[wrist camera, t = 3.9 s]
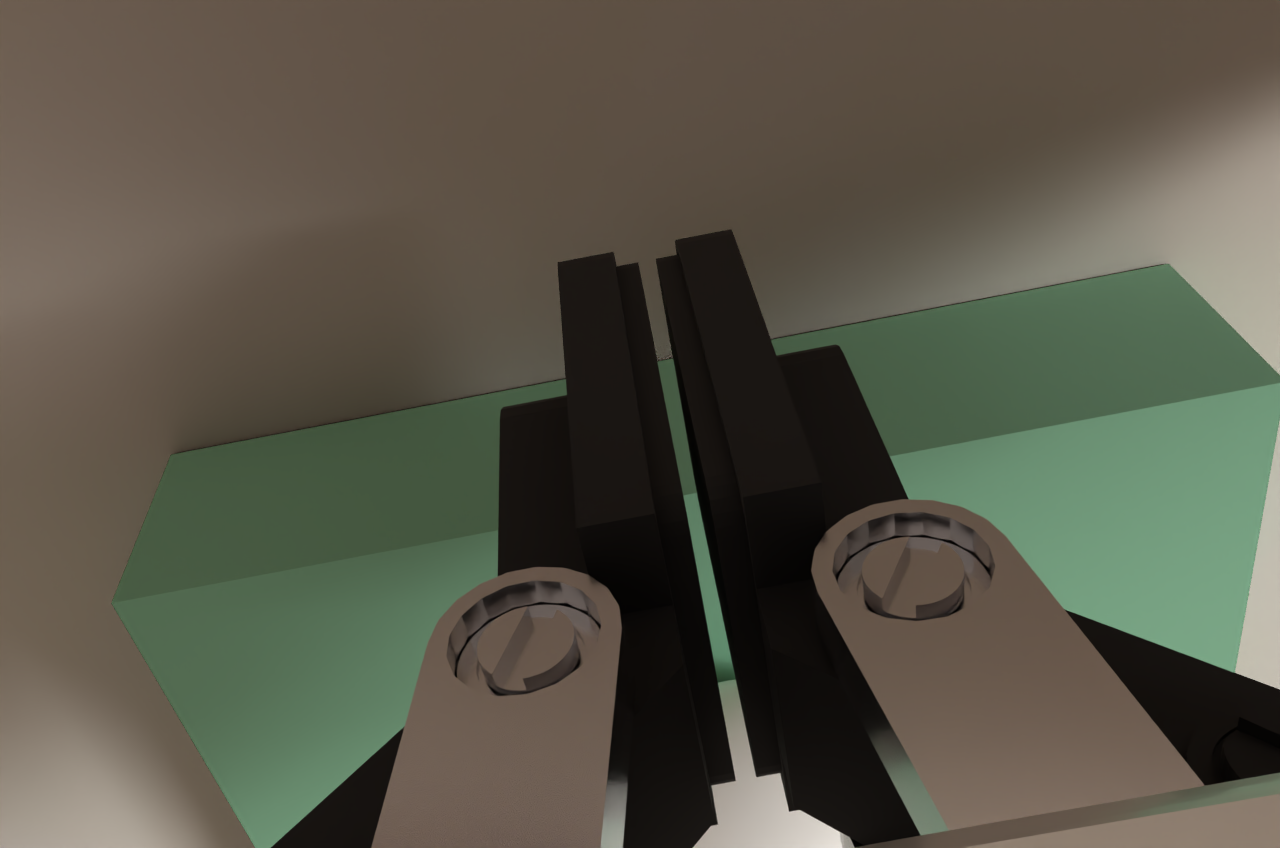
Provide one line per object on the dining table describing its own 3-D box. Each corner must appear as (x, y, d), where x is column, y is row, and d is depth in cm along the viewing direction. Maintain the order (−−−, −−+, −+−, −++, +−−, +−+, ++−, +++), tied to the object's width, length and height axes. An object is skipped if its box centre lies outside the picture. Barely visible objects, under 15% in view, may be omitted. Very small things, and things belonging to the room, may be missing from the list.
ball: (869, 586, 15) (969, 861, 12) (884, 784, 17) (971, 1060, 14) (559, 644, 15) (572, 932, 12) (615, 834, 17) (640, 1119, 14)
